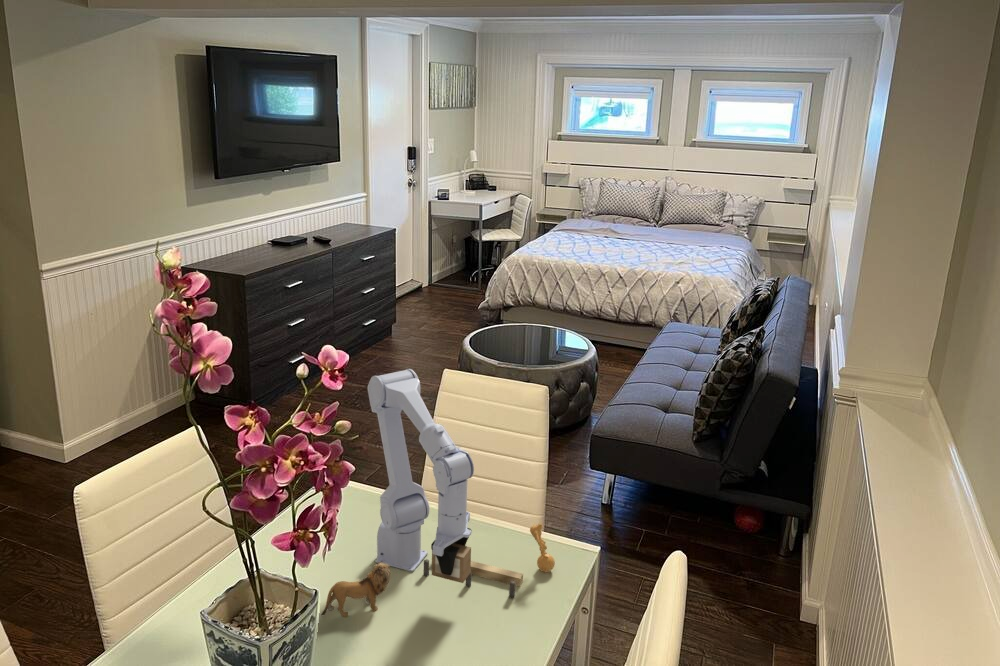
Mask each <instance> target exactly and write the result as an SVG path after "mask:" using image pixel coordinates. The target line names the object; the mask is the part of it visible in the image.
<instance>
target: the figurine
mask: <svg viewBox="0 0 1000 666" xmlns="http://www.w3.org/2000/svg"><path fill="white" fill-rule="evenodd" d="M543 528H544V525H543V524H542V523H538V524H536V525H535V524H532V526H531V527H530V528H529V531H530V534H531V536H532V537H533V538H534V540H535V541H536V542H537V545H538V546H539V551H540V555H539V556H538V558H537V560H536V566H537V567H538V568H537V569H539V570H540V571H541V572H544V573H548V572H551V571H552V570H554V568H555V564H556V563H555V562H556V561H555V558H554V557H553V555H551V554H549V553H548V552H546V550H547V548H548V546H547V545H546V541H544V539H543V538H542V535H543V534H542V529H543Z"/></svg>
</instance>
